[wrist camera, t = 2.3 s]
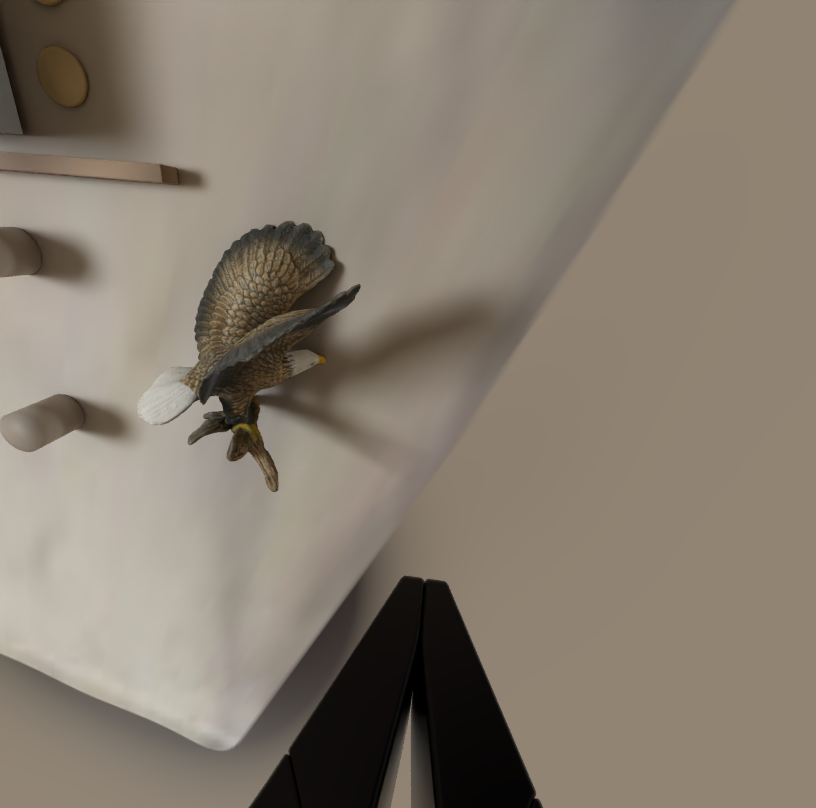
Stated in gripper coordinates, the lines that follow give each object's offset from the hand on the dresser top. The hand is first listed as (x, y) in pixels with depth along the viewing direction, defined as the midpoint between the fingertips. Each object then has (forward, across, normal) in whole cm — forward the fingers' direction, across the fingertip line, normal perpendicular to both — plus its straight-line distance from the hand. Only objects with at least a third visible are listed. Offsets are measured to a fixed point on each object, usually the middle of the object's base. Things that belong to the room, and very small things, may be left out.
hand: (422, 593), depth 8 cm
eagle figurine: (+12, +7, -1) cm, 14 cm away
